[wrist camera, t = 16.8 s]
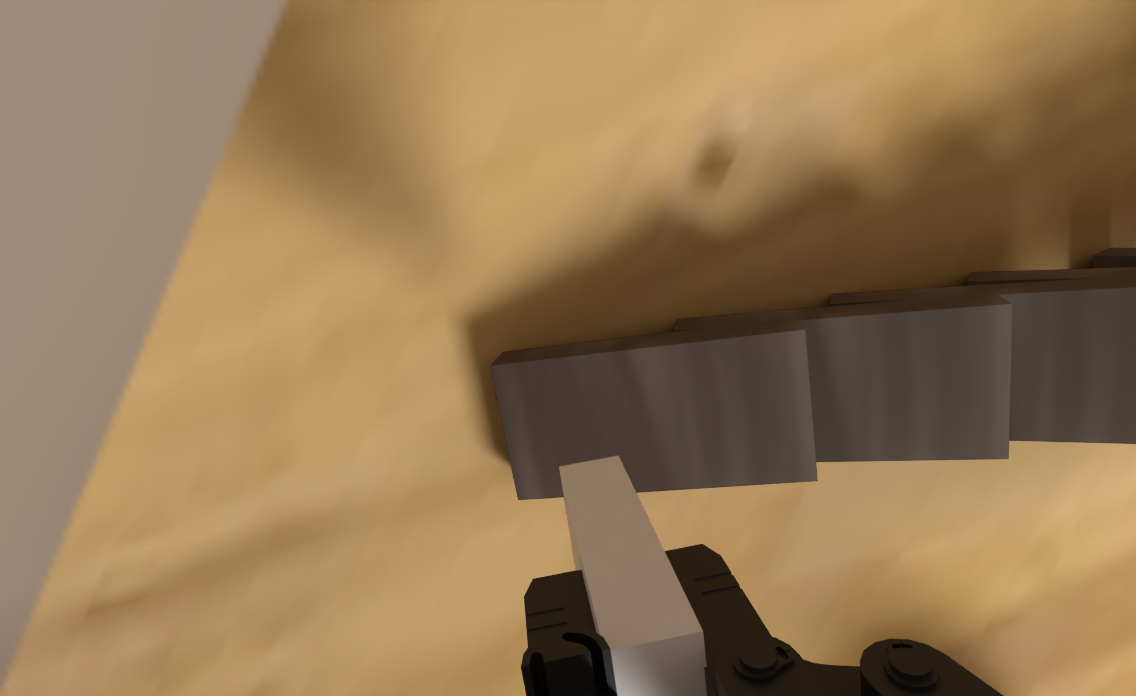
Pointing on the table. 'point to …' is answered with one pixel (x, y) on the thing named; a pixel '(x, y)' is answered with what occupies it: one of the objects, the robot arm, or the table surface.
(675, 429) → the domino
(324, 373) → the table surface
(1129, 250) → the domino
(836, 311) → the domino
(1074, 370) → the domino
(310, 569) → the table surface
